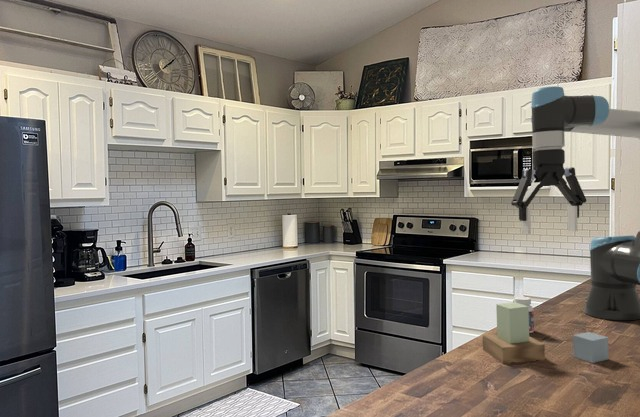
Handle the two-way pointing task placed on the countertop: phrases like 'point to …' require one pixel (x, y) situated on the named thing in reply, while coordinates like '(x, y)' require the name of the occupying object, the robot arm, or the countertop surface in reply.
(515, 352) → the walnut slab
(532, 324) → the pill bottle
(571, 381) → the countertop surface
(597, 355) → the slate cube
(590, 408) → the countertop surface
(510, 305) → the sage block
